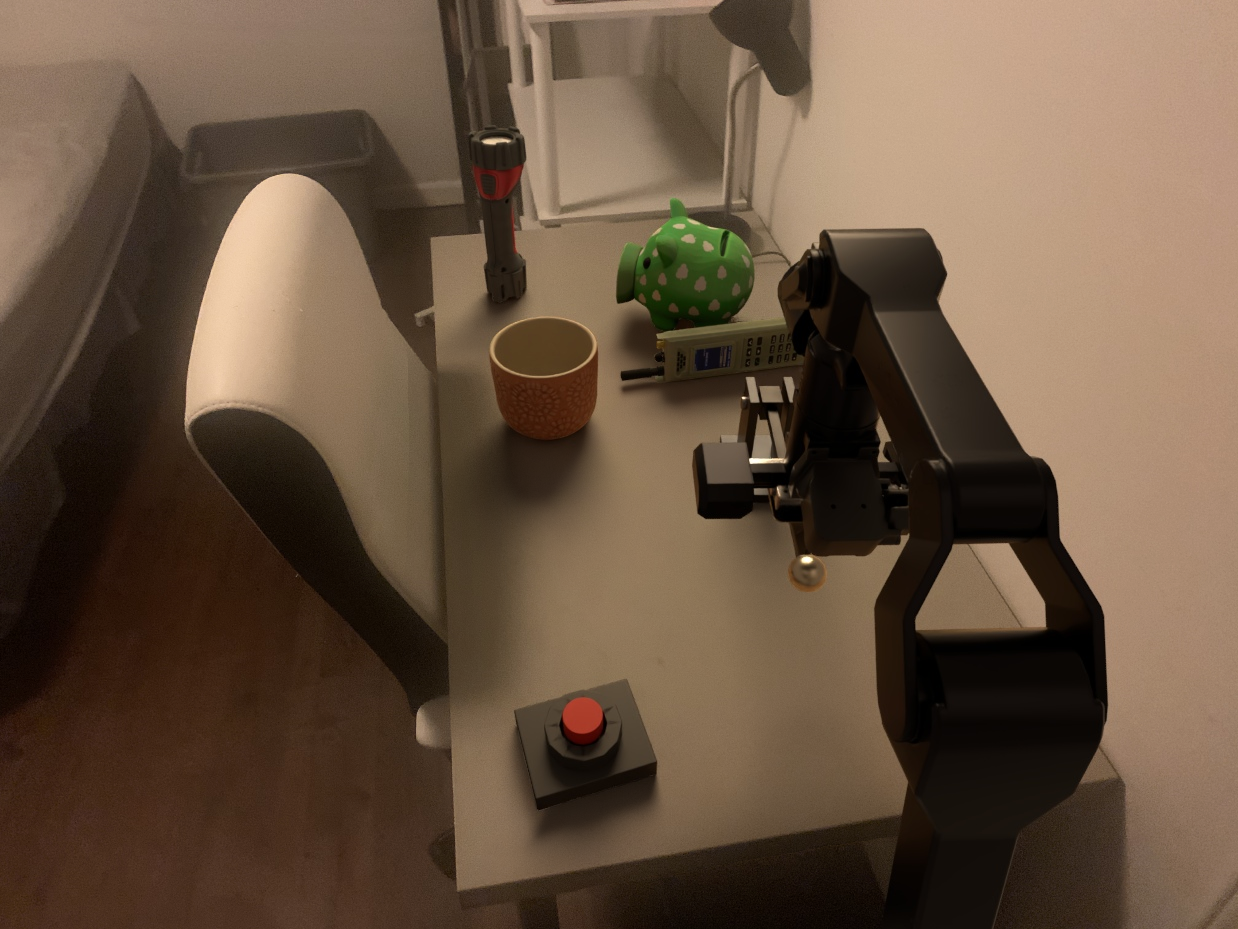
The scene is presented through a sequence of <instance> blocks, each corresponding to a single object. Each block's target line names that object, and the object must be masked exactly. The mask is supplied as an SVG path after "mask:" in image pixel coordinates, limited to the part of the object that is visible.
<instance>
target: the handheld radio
mask: <svg viewBox="0 0 1238 929" xmlns="http://www.w3.org/2000/svg"><path fill="white" fill-rule="evenodd" d="M655 336H656V338H657V341H656V343H655V344H656V348H657V350H658V349H659V350H660V349H662V351H661V352H656V353H655V354H654V361H655V362H656V363H662V365H657V366H656V367H645V368H636V369H635V368H634V369H627V370H620V374H619V376H620V379H621V381H622V382H623V381H624V382H627V381H632V380H640V379H649V378H653V377H654V378H655V381H656V384H661V383H672V382H679V381H686V380H687V381H688V380H695V379H702V378H710V377H711V378H712V377H716V376H718V377H719V376H724V375H733V374H740V373H741V374H742V373H748V372H757V371H763V370H773V369H778V368H786V367H795V366H803V363H804V358H805V357H803V356H802V355H798V354H797V353H796V351H795V350H794V347H793V343H792V340H791V337H790V334H789V331H788V328H787V325H786V321H785V318H784V316H783V317H774V318H766V319H758V320H748V321H740V322H732V323H729V324H723V325H715V326H707V327H698V328H695V327H691V328H690V327H689V328H683V329H674V330H673V331H666V332H664V331H663V332H660V333H656V335H655Z"/></svg>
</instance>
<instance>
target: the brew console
mask: <svg viewBox="0 0 1238 929" xmlns="http://www.w3.org/2000/svg"><path fill="white" fill-rule="evenodd" d="M582 697H585V698H590V699H592V700H594V701H596V702H597V703H598V704H599V705H600V707H601V709H602V712H603V730H602V733H601V735H600V736H599V738H598V739H597V740H595V741H594V742H592V743H590V744H585V745H580V744H576V743H573V742H572V741H570V740H569V739H568V738H567V737H566V735H565V733H564V728H563V717H562V716H563V711H564V708H565V707H566V705H567V704H568V703H569V702H571V701H572V700H574V699H577V698H582ZM513 713H514V720H515V725H516V728H517V732H518V737H519V741H520V745H521V749H522V752H523V758H524V762H525V765H526V766H525V767H526V770H527V773H528V774H527V775H528V778H529V782H530V786H531V790H532V795H533V800H534V803H535V807H536V810H537V811H538V812H539V811H543V810H546V809H550V808H553V807H557V806H559V805H563V804H564V803H568V802H572V801H576V800H578V799H582V798H585V797H587V796H588V797H589V796H591V795H595V794H597V793H601V792H604V791H607V790H611V789H613V788H616V787H620V786H623V785H627V784H629V783H632V782H636V781H639V780H643V779H645V778H649V777H652V776H655V775H657V773H658V759H657V756H656V754H655V751H654V749H653V745H652V743H651V740H650V737H649V735H648V732H647V729H646V727H645V724H644V721H643V718H642V716H641V713H640V709H639V707H638V705H637V703H636V699H635V697H634V694H633V691H632V688H631V686H630V684H629V681H628V679H627V678H624V679H620V680H616V681H612V682H609V683H606V684H601V685H598V686H595V687H591V688H587V689H580V690H575V691H572V692H568V693H566V694H562V696H559V697H555V698H552V699H548V700H545V701H542V702H537V703H534V704H531V705H526V706H524V707H520V708H516V709H514V710H513Z"/></svg>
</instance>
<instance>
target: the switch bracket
mask: <svg viewBox="0 0 1238 929" xmlns="http://www.w3.org/2000/svg"><path fill="white" fill-rule="evenodd" d="M794 389H796V386H795V382H794V378H793V376H783V377H782V382H781V386H780V390H781V394H782V398H783V408H782V414H781V419H780V422H781V426H782V431H783V435H784V439H785V436H786V432H790V429H791V423H792V418H793V413H794V404H793V400H792V399H793V394H794ZM739 405H740V416H739V423H738V430H737V434H720V436H719V443H728V442H746V443H747V449H748V454H749V459H759V458H775V456H774V451H773V446H772V442H771V437H770V434H756V432H757V426H758V419H759V414H758V413H759V406H760V400H759V396H758V387H757V381H756V377H755V376H746V377H745V378H744V385H743V393H742V396H741V397H740V404H739ZM757 503H765V504H767V503H769V504H770V500H769V495H768V491H767V488H760V489H754V504H757Z"/></svg>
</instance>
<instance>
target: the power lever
mask: <svg viewBox="0 0 1238 929" xmlns="http://www.w3.org/2000/svg"><path fill="white" fill-rule="evenodd" d="M757 391H758V396H759V400H760V406H759V413H758V419H759V421H766V422H767V427H768V432H769V435H770V437H771V442H772V446H773V451H774V456H775V458H785V454H786V446H785V442H784V441H785V439H784V435H783V431H782V426H781V422H780V419H781V414H782V408H783V398H782V394H781V386H780V385H759V386H758V388H757ZM788 526H789V530H790V537H791V539H792V541H791V542H792V545H793V549H794V554H795V555H794V556H795V557H794V558H793V560H792V561H791V562H790V564H789V566H788V569H787V577H788V580H789V582H790V584H791V586H792V587H793V588H795V589H796V590H798V591H800V592H801V593H813V592H816V591H818V590H820V589H821V588H822V587H823V586H824V585H825V583H826V581H827V576H828V572H827V571H828V570H827V567H826V565H825V564H824V561H823V560H821V559H820V557H818V556H815V555H813V554H810V555H799V552H798V548H797V543H796V539H795V534H794V530H793V528H792V526H791V524H790V523H788Z"/></svg>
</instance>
